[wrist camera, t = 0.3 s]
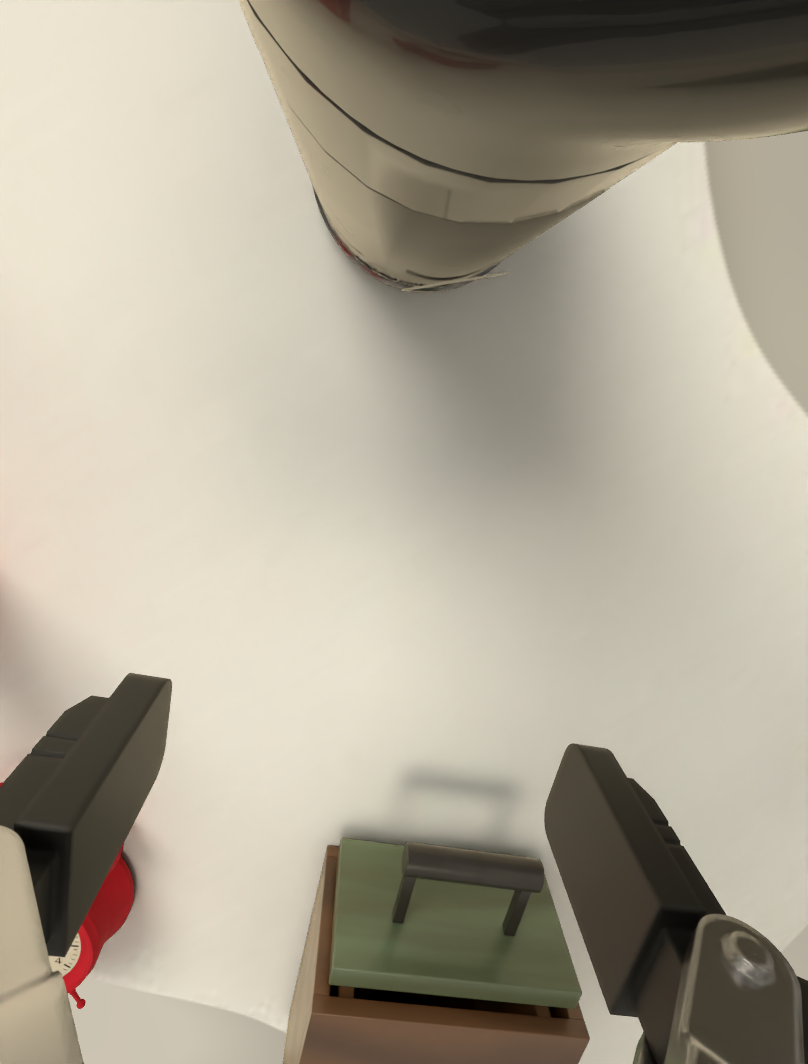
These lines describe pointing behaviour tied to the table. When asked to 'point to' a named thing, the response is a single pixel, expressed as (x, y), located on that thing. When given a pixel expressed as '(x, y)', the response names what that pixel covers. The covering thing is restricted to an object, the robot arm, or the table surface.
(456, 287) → the robot arm
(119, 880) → the alarm clock
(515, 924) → the drawer
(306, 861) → the table surface
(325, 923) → the cabinet
